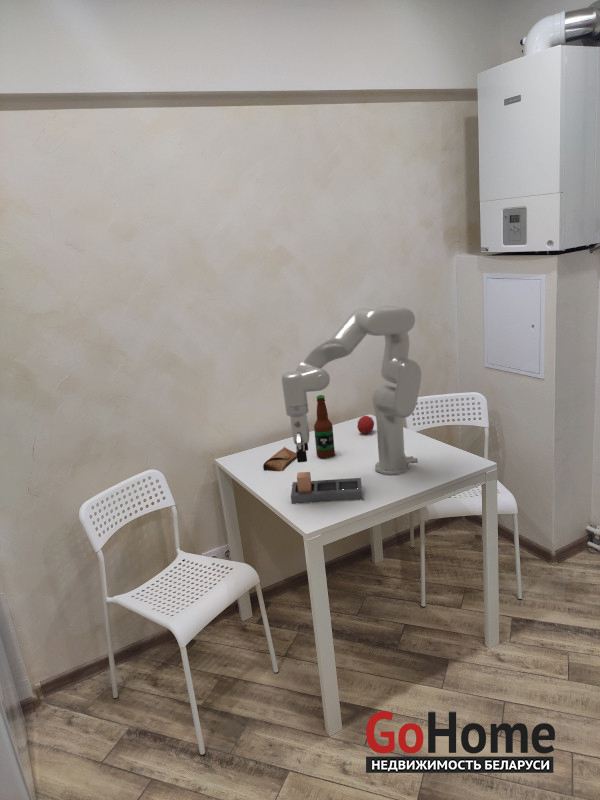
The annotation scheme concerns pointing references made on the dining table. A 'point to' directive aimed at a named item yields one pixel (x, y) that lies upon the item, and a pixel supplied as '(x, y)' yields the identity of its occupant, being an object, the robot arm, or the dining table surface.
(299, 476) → the peg
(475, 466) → the dining table surface
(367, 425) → the red textured ball
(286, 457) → the sunglasses case
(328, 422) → the bottle
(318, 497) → the rack
